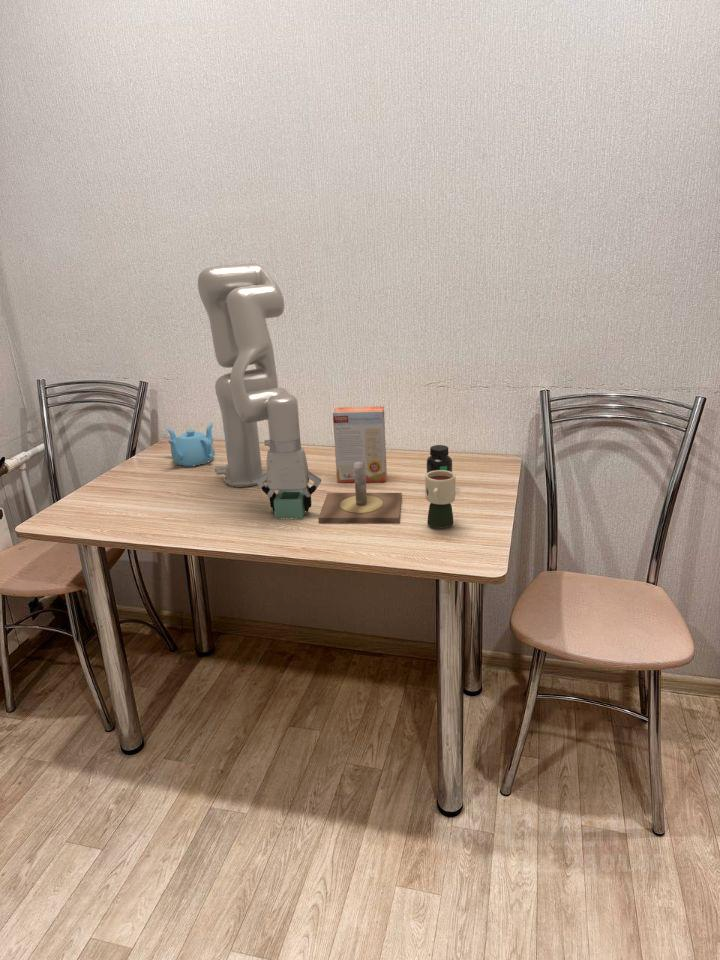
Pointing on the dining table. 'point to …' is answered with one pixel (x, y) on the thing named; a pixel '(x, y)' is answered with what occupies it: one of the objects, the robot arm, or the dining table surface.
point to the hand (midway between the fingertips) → (291, 509)
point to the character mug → (440, 497)
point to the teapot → (192, 447)
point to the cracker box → (360, 442)
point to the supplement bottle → (439, 459)
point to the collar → (289, 504)
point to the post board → (372, 517)
